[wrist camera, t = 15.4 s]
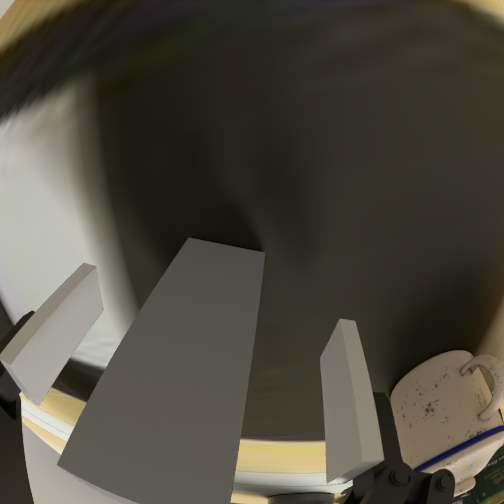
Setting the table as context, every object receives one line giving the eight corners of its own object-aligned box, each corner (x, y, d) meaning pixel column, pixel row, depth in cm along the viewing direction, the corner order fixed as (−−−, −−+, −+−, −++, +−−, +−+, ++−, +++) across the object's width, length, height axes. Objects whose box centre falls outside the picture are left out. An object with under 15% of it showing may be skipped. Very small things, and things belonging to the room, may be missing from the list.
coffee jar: (456, 399, 20) (487, 538, 4) (500, 384, 19) (537, 502, 3) (422, 437, 25) (438, 550, 8) (465, 424, 24) (488, 525, 8)
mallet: (222, 436, 25) (203, 531, 14) (186, 428, 25) (161, 521, 14) (265, 252, 14) (226, 524, 3) (188, 237, 14) (56, 464, 4)
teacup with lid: (446, 400, 20) (470, 491, 10) (373, 412, 21) (386, 520, 11) (505, 314, 15) (564, 421, 4) (425, 320, 15) (484, 475, 5)
